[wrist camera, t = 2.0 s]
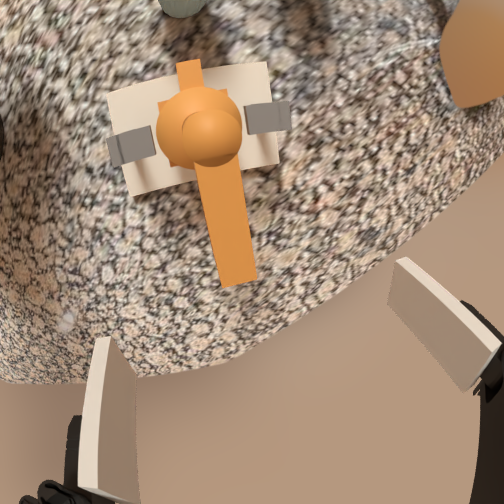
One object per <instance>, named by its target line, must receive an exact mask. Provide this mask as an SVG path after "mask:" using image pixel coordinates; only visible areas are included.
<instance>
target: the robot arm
mask: <svg viewBox="0 0 504 504" xmlns="http://www.w3.org/2000/svg"><path fill="white" fill-rule="evenodd" d="M3 139H4V134H3V124H2V119H1V115H0V160H1V156H2V150H3ZM387 305H389V307H390V308H391V309H392V310H393V311H394V312H395V313H396V314H397V315H398V317H399V318H400V319H401V320H402V321H403V322H404V323H405V324H406V325H407V327H408V328H409V329H410V330H411V331H412V332H413V333H414V335H415V336H416V337H417V338H418V339H419V340H420V341H421V343H422V344H423V345H424V346H425V347H426V348H427V350H428V351H429V352H430V353H431V354H432V356H433V357H434V358H435V359H436V360H437V362H438V363H439V364H440V365H441V366H442V368H443V369H444V370H445V371H446V373H447V374H448V375H449V376H450V378H451V379H452V380H453V381H454V383H455V384H456V385H457V386H458V387H459V389H460V390H461V391H462V393H465V392H466V391H467V390H468V389H469V388H471V387H472V386H473V385H474V384H475V382H476V381H477V380H478V378H479V377H481V379H482V380H481V381H480V383H479V384H478V385H477V387H476V388H475V390H474V391H473V395H475V394H476V393H477V392H478V391H479V389H480V391H479V392H478V395H479V396H480V410H481V411H480V434H479V448H478V457H477V465H476V472H475V478H474V483H473V489H472V494H471V498H470V503H469V504H504V336H503V335H502V334H501V333H500V332H499V331H498V330H497V329H496V328H495V327H494V326H493V325H492V324H491V323H490V322H489V321H488V320H487V319H485V318H484V316H482V315H481V314H479V312H478V311H477V310H476V309H475V308H474V307H473V306H472V305H470V304H468V303H466V302H464V301H460V302H459V301H458V300H457V299H456V298H455V297H454V296H452V295H451V294H450V293H449V292H448V291H447V290H446V289H445V288H444V287H442V286H441V285H440V284H439V283H438V282H437V281H435V280H434V279H433V278H432V277H431V276H430V275H428V274H427V273H426V272H425V271H424V270H422V269H421V268H420V267H419V266H417V265H416V264H415V263H414V262H413V261H411V260H410V259H409V258H408V257H404V258H401V259H398V260H395V265H394V271H393V276H392V282H391V287H390V292H389V298H388V302H387ZM136 381H137V374H136V373H135V371H134V370H133V369H132V367H131V366H130V364H129V363H128V361H127V360H126V358H125V357H124V355H123V354H122V352H121V351H120V349H119V348H118V346H117V345H116V343H115V341H114V340H113V338H112V337H111V336H108V337H102V338H97V339H96V342H95V346H94V351H93V355H92V360H91V365H90V370H89V375H88V381H87V387H86V393H85V400H84V407H83V414H82V415H80V416H78V415H77V416H73V418H72V420H71V422H70V424H69V426H68V434H67V439H68V441H67V444H66V448H67V450H66V455H65V469H64V484H63V485H61V484H59V483H57V482H55V481H53V480H46V481H44V482H42V484H40V486H39V488H38V492H37V493H38V499H36V498H34V497H32V496H30V495H25V496H23V497H22V498H21V499H20V501H19V504H115V502H116V503H119V504H141V502H140V493H139V483H138V470H137V453H136Z"/></svg>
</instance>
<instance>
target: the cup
mask: <svg viewBox="0 0 504 504" xmlns="http://www.w3.org/2000/svg"><path fill="white" fill-rule="evenodd" d="M158 1H159V3H160V5H161V7H162V9H163V10H164V12H165V13H166V14H168V15H169V16H171V17H176V18H185V17H190V16H192V15H194V14H196V13H198V12H199V11H200V9H201V8H202V7H203V6H204V4H205V3H206V1H207V0H158Z"/></svg>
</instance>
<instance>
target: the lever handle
mask: <svg viewBox="0 0 504 504" xmlns="http://www.w3.org/2000/svg"><path fill="white" fill-rule="evenodd" d="M176 69H177V75H178V81H179V87H180V92H179V93H177V94H176V95H174V96H173V97H172V98H171V99H170V100H165V101H161V102H157V103H158V109H159V116H158V119H157V124H156V137H157V141H158V144H159V147H160V149H161V150H162V152H163V153H164V155H165V156H166V157H167V158H168V159H169V163H170V167H175V166H180V167H183V168H186V169H191V170H195V173H196V178H197V183H198V188H199V192H200V197H201V202H202V206H203V211H204V215H205V220H206V224H207V229H208V233H209V237H210V242H211V246H212V250H213V254H214V258H215V262H216V266H217V270H218V273H219V277H220V281H221V285H222V288H225V287H229V286H233V285H237V284H241V283H245V282H249V281H252V280H256V279H257V275H256V268H255V262H254V255H253V249H252V242H251V236H250V229H249V223H248V217H247V210H246V204H245V197H244V191H243V184H242V178H241V172H240V165H239V159H238V151H239V149H240V147H241V144H242V119H241V115H240V112H239V110H238V108H237V106H236V104H235V103H234V102H233V101H232V100H231V99H230V98H229V97H228V92H227V89H221V90H216V89H213V88H208V87H204V82H203V75H202V69H201V63H200V59H195V60H189V61H184V62H179V63H176Z"/></svg>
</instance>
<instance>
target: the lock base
mask: <svg viewBox="0 0 504 504" xmlns="http://www.w3.org/2000/svg"><path fill="white" fill-rule="evenodd" d="M202 75H203V82H204V87H208V88H213V89H216V90H221V89H227V92H228V97H229V98H230V99H231V100H232V101H233V102H234V103H235V104H236V106H237V108H238V110H239V112H240V115H241V119H242V144H241V147H240V149H239V151H238V159H239V165H240V170H245V169H251V168H256V167H261V166H267V165H273V164H279V154H278V145H277V137H276V131H283V130H291V129H292V125H291V116H290V108H289V101H283V102H272V98H271V91H270V84H269V77H268V70H267V63H266V62H255V63H244V64H235V65H226V66H219V67H212V68H206V69H202ZM179 92H180V87H179V81H178V75H177V74H174V75H170V76H165V77H161V78H157V79H153V80H149V81H146V82H142V83H138V84H135V85H132V86H128V87H125V88H122V89H119V90H116V91H113V92H110V93H107V94H106V96H107V101H108V107H109V112H110V117H111V122H112V127H113V131H114V136H112V137H109V138H107V139H106V141H107V145H108V149H109V153H110V157H111V161H112V165H113V168H114V167H117V166H120V165H122V169H123V173H124V177H125V180H126V184H127V187H128V191H129V195H130V197H133V196H136V195H140V194H143V193H147V192H150V191H154V190H158V189H162V188H165V187H169V186H173V185H177V184H181V183H185V182H190V181H194V180H197V178H196V173H195V170H191V169H186V168H183V167H180V166H175V167H170V163H169V159H168V158H167V157H166V156H165V155H164V153H163V152H162V150H161V149H160V147H159V144H158V141H157V137H156V124H157V119H158V116H159V109H158V103H157V102H161V101H165V100H170V99H171V98H172V97H173V96H174V95H176V94H177V93H179Z"/></svg>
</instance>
